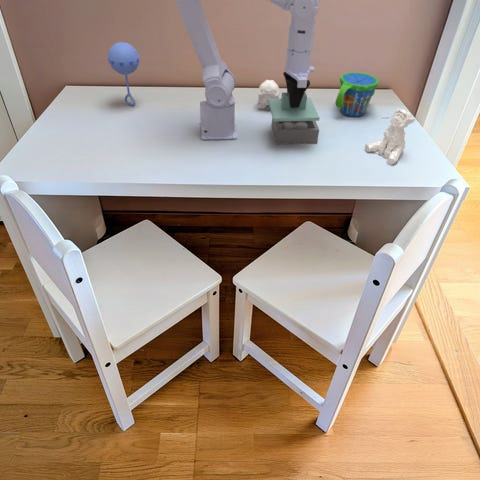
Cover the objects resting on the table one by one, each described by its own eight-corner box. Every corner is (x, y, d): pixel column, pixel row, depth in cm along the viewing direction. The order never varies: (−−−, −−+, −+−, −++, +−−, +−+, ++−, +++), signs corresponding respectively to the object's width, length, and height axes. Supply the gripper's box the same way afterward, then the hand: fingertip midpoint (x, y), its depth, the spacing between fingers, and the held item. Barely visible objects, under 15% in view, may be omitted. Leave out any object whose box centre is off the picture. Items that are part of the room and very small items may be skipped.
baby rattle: (152, 103, 125) (143, 41, 112) (132, 114, 119) (121, 50, 107) (131, 97, 128) (120, 36, 116) (111, 107, 123) (98, 44, 110)
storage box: (276, 144, 108) (277, 130, 105) (271, 124, 116) (272, 111, 113) (317, 143, 108) (319, 129, 106) (309, 124, 117) (311, 111, 114)
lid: (273, 123, 100) (275, 104, 97) (267, 103, 109) (269, 85, 105) (318, 122, 101) (321, 104, 98) (309, 103, 109) (312, 85, 106)
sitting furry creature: (362, 150, 106) (373, 106, 98) (383, 141, 110) (396, 98, 102) (391, 166, 101) (405, 121, 93) (412, 156, 105) (428, 112, 96)
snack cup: (357, 100, 129) (365, 67, 122) (383, 112, 123) (392, 79, 116) (321, 111, 123) (326, 77, 116) (345, 125, 116) (353, 90, 110)
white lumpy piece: (258, 82, 116) (260, 71, 126) (256, 112, 121) (259, 99, 131) (280, 84, 116) (281, 72, 125) (277, 113, 121) (278, 100, 130)
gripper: (323, 59, 89) (314, 117, 98) (310, 38, 99) (303, 92, 109) (291, 59, 88) (285, 117, 98) (282, 38, 99) (277, 92, 108)
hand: (293, 104), depth 103 cm, fingers closed on lid, 2 cm apart
